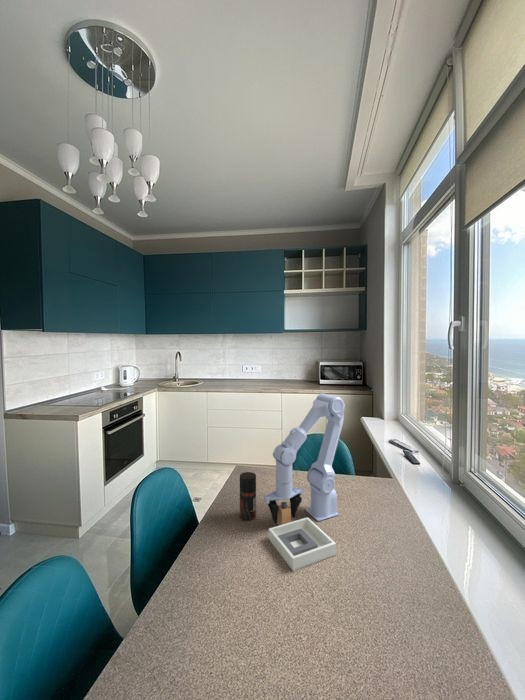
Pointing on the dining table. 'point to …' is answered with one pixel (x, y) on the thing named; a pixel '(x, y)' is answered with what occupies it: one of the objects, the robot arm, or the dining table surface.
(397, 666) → the dining table surface
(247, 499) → the deodorant
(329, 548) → the walled box
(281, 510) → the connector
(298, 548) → the inlet socket
